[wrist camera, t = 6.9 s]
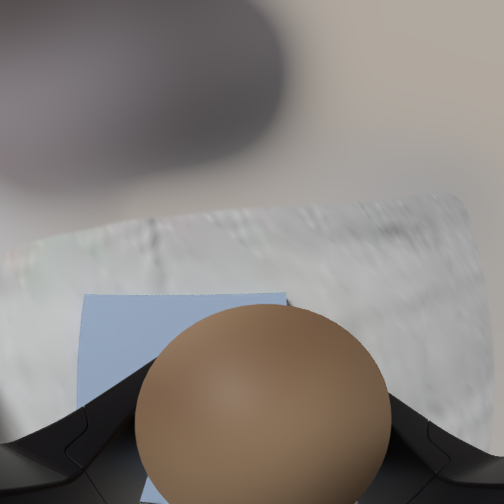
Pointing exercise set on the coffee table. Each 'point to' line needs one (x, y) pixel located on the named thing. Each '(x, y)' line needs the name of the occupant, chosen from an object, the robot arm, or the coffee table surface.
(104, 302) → the blue mat
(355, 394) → the walnut pillar
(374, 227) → the coffee table surface
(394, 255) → the coffee table surface
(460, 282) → the coffee table surface
